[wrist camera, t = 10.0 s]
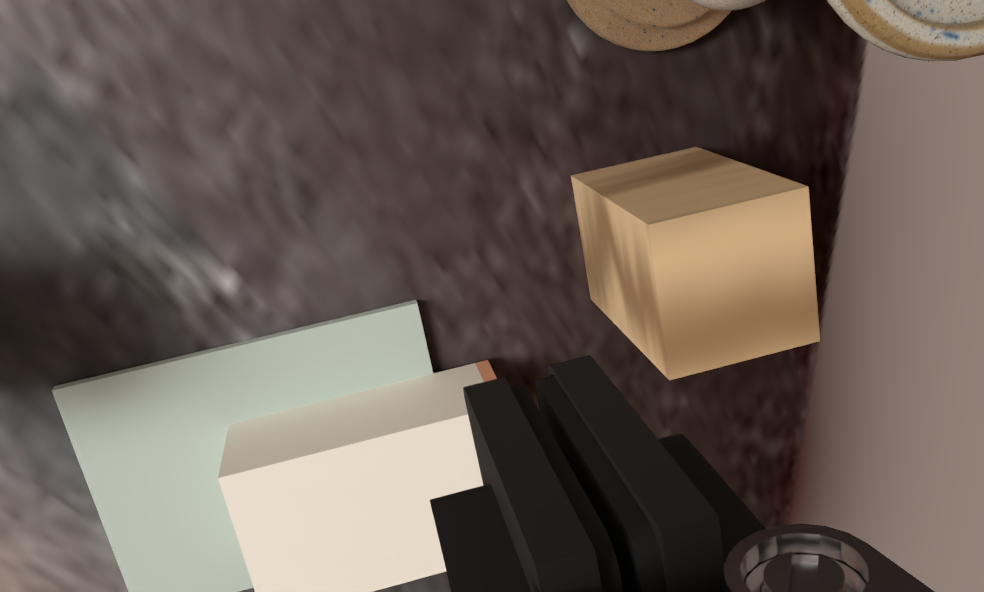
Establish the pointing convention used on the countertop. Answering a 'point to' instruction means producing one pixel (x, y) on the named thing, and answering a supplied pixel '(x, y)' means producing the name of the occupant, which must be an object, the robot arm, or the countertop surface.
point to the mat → (213, 435)
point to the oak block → (699, 258)
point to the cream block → (351, 484)
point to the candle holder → (859, 3)
